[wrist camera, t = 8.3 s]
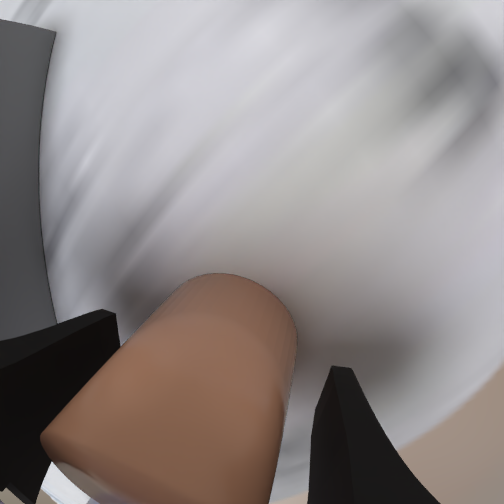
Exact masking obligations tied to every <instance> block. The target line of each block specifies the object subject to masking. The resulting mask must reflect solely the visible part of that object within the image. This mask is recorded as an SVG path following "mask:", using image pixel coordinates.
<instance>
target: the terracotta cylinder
mask: <svg viewBox="0 0 504 504" xmlns="http://www.w3.org/2000/svg"><path fill="white" fill-rule="evenodd" d="M296 351H297V332H296V327H295V324H294V321H293V319H292V317H291V315H290V313H289V312H288V310H287V309H286V307H285V306H284V305H283V303H282V302H281V301H280V300H279V299H278V298H277V297H276V296H275V295H274V294H272V293H271V292H270V291H269V290H267V289H266V288H264V287H263V286H261V285H259V284H257V283H255V282H254V281H251V280H249V279H246V278H244V277H240V276H236V275H231V274H221V273H213V274H205V275H201V276H197V277H195V278H192V279H190V280H188V281H186V282H185V283H183V284H182V285H181V286H180V287H178V288H177V289H176V290H175V291H174V292H173V293H172V294H171V295H170V296H169V297H168V298H167V299H166V300H165V301H164V302H163V303H162V304H161V306H160V307H159V308H158V309H157V310H156V311H155V312H154V313H153V314H152V315H151V316H150V317H149V318H148V319H147V320H146V321H145V322H144V323H143V324H142V325H141V326H140V327H139V328H138V329H137V330H136V331H135V332H134V333H133V334H132V335H131V337H130V338H129V339H128V340H127V341H126V342H125V343H124V344H123V345H122V346H121V347H120V348H119V349H118V350H117V351H116V352H115V353H114V354H113V355H112V357H111V358H110V359H109V360H108V361H107V362H106V363H105V364H104V365H103V366H102V367H101V368H100V369H99V370H98V371H97V373H96V374H95V375H94V376H93V377H92V378H91V379H90V380H89V381H88V382H87V383H86V384H85V385H84V387H83V388H82V389H81V390H80V391H79V392H78V393H77V394H76V395H75V396H74V397H73V399H72V400H71V401H70V402H69V403H68V404H67V405H66V406H65V407H64V408H63V410H62V411H61V412H60V413H59V414H58V415H57V416H56V417H55V418H54V420H53V421H52V422H51V423H50V424H49V425H48V426H47V427H46V429H45V430H44V431H43V432H42V433H41V435H40V441H41V444H42V446H43V448H44V450H45V452H46V453H47V455H48V456H49V458H50V459H51V460H52V462H53V463H54V464H55V465H56V466H57V468H58V469H59V470H60V471H61V472H62V473H63V474H64V475H65V476H66V477H67V478H68V479H69V480H70V481H71V482H72V483H74V484H75V485H76V486H77V487H78V488H79V489H81V490H82V491H83V492H84V493H86V494H87V495H88V496H90V497H91V498H92V499H94V500H95V501H97V502H98V503H99V504H269V499H270V495H271V490H272V486H273V481H274V477H275V472H276V467H277V462H278V457H279V452H280V447H281V442H282V437H283V431H284V426H285V420H286V414H287V409H288V403H289V397H290V390H291V384H292V378H293V371H294V365H295V358H296Z"/></svg>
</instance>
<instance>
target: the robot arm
mask: <svg viewBox="0 0 504 504" xmlns="http://www.w3.org/2000/svg"><path fill="white" fill-rule="evenodd" d="M120 347H121V346H120V340H119V334H118V327H117V319H116V313H113V312H110V311H107V310H104V309H100V310H96V311H93V312H90V313H87V314H84V315H81V316H78V317H75V318H73V319H70V320H67V321H64V322H62V323H59V324H56V325H53V326H51V327H48V328H45V329H42V330H38V331H35V332H32V333H29V334H26V335H22V336H19V337H15V338H11V339H6V340H2V341H0V491H3V490H4V489H5V488H8V489H9V490H10V491H11V492H12V493H13V494H14V495H15V496H16V497H18V498H19V499H20V500H21V501H22V502H23V503H25V504H35V503H36V500H37V497H38V494H39V491H40V488H41V485H42V482H43V480H44V477H45V475H46V473H47V471H48V468H49V466H50V464H51V462H52V460H51V459H50V458H49V456H48V455H47V453H46V452H45V450H44V448H43V446H42V444H41V441H40V435H41V433H42V432H43V431H44V430H45V429H46V427H47V426H48V425H49V424H50V423H51V422H52V421H53V420H54V418H55V417H56V416H57V415H58V414H59V413H60V412H61V411H62V410H63V408H64V407H65V406H66V405H67V404H68V403H69V402H70V401H71V400H72V399H73V397H74V396H75V395H76V394H77V393H78V392H79V391H80V390H81V389H82V388H83V387H84V385H85V384H86V383H87V382H88V381H89V380H90V379H91V378H92V377H93V376H94V375H95V374H96V373H97V371H98V370H99V369H100V368H101V367H102V366H103V365H104V364H105V363H106V362H107V361H108V360H109V359H110V358H111V357H112V355H113V354H114V353H115V352H116V351H117V350H118V349H119V348H120ZM0 504H4V503H3V502H2V501H1V500H0ZM87 504H99V503H98V502H97V501H95V500H94V499H92V498H90V499H89V501H88V502H87ZM307 504H440V503H439V502H438V501H437V500H436V499H435V498H434V497H433V496H432V495H431V494H430V493H429V491H428V490H427V489H426V488H425V487H424V486H423V485H422V484H421V483H420V482H419V481H418V479H417V478H416V477H415V476H414V475H413V473H412V472H411V471H410V469H409V468H408V467H407V465H406V464H405V463H404V461H403V460H402V459H401V457H400V456H399V454H398V453H397V451H396V450H395V448H394V447H393V445H392V443H391V442H390V440H389V439H388V437H387V435H386V434H385V432H384V430H383V429H382V427H381V425H380V423H379V422H378V420H377V418H376V416H375V414H374V412H373V411H372V409H371V407H370V405H369V403H368V401H367V399H366V397H365V395H364V393H363V391H362V389H361V387H360V385H359V383H358V381H357V378H356V376H355V374H354V372H353V370H352V369H351V368H345V367H338V366H331V369H330V372H329V375H328V377H327V380H326V383H325V385H324V388H323V391H322V393H321V396H320V399H319V401H318V404H317V406H316V409H315V415H314V421H313V428H312V435H311V454H310V475H309V492H308V502H307Z"/></svg>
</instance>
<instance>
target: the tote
mask: <svg viewBox="0 0 504 504" xmlns="http://www.w3.org/2000/svg"><path fill="white" fill-rule="evenodd" d="M55 34H56V32H54V31H51V30H47V29H43V28H39V27H35V26H31V25H26V24H22V23H17V22H12V21H7V20H2V19H0V341H2V340H6V339H11V338H15V337H19V336H22V335H26V334H29V333H32V332H35V331H38V330H42V329H45V328H48V327H51V326H53V325H56V324H57V323H56V319H55V314H54V310H53V305H52V301H51V296H50V291H49V285H48V279H47V273H46V267H45V260H44V253H43V244H42V235H41V224H40V210H39V184H38V162H39V137H40V123H41V112H42V103H43V95H44V88H45V82H46V76H47V70H48V65H49V60H50V55H51V50H52V46H53V42H54V37H55Z"/></svg>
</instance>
